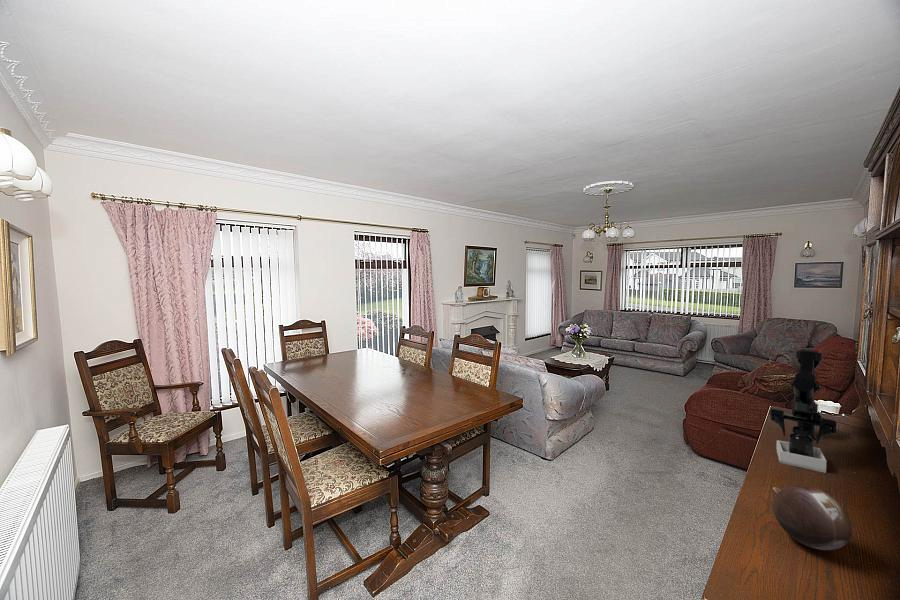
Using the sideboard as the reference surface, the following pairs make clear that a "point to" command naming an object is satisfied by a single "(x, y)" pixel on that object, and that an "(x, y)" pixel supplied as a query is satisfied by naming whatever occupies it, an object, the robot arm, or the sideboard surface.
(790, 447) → the supplement bottle
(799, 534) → the dark glossy egg
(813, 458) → the tray
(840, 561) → the sideboard surface
